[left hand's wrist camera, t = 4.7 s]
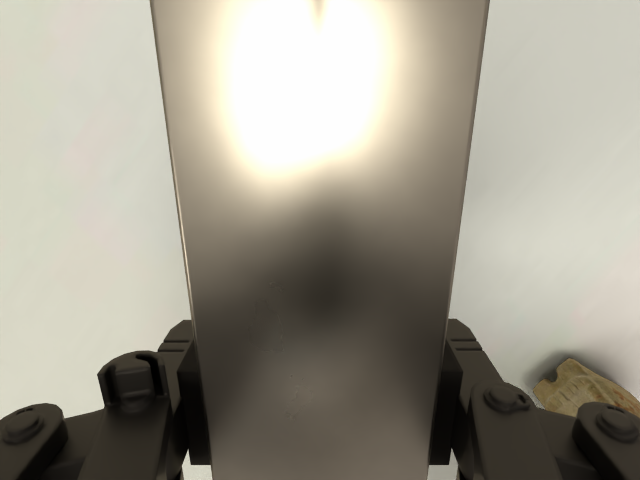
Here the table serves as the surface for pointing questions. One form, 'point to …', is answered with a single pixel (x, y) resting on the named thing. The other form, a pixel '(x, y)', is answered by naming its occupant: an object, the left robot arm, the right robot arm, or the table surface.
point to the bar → (319, 221)
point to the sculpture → (581, 390)
